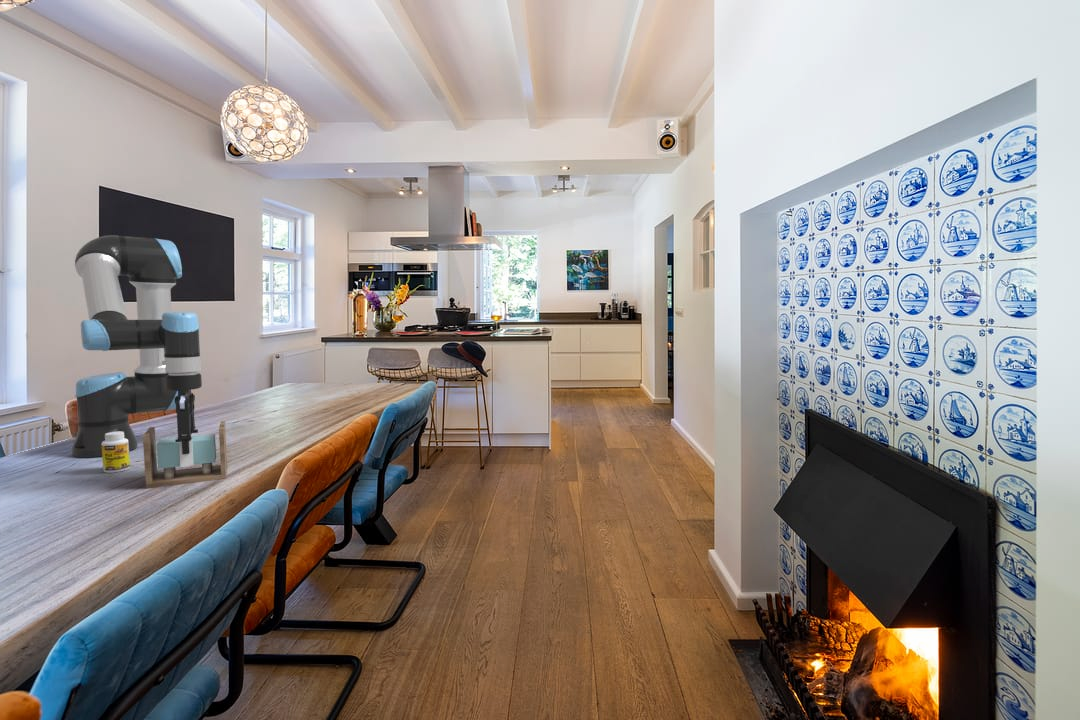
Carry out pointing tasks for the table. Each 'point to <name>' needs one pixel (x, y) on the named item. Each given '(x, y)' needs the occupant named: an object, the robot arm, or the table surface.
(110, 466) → the supplement bottle
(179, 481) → the peg bracket
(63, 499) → the table surface
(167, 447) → the shelf board
